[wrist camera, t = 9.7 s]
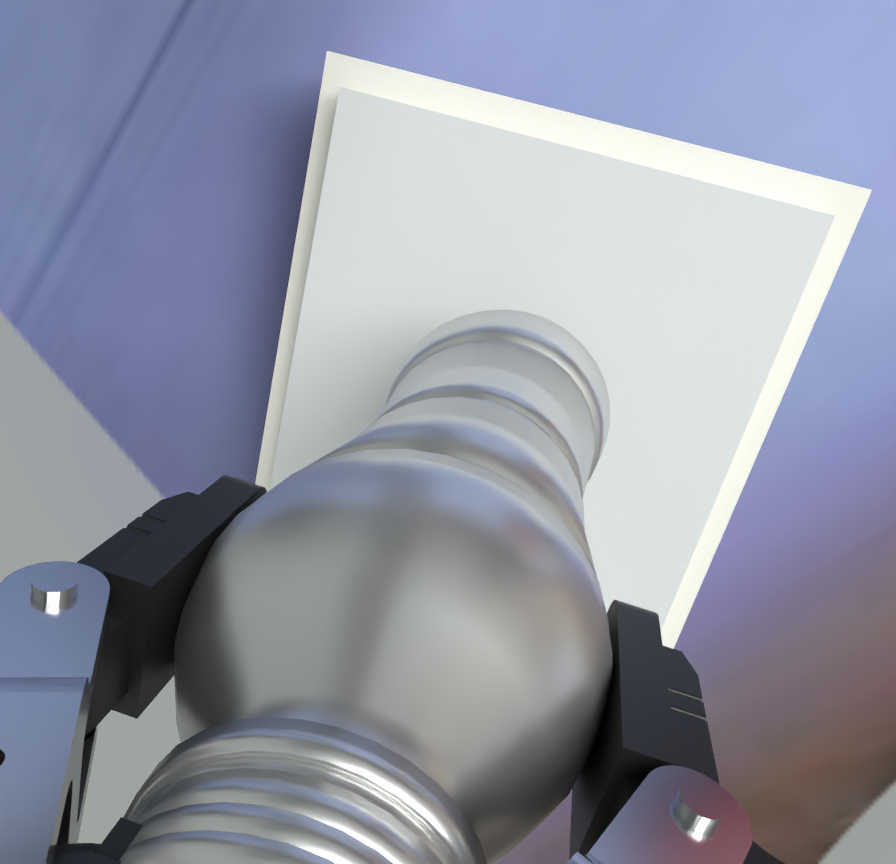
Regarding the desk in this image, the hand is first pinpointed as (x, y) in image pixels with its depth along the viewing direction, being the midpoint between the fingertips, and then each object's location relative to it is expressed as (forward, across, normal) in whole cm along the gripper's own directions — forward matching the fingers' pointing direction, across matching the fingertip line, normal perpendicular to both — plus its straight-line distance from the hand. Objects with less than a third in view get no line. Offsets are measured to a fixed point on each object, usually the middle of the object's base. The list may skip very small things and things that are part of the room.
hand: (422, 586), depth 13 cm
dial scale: (+19, 0, +2) cm, 19 cm away
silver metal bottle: (+13, 0, 0) cm, 13 cm away
